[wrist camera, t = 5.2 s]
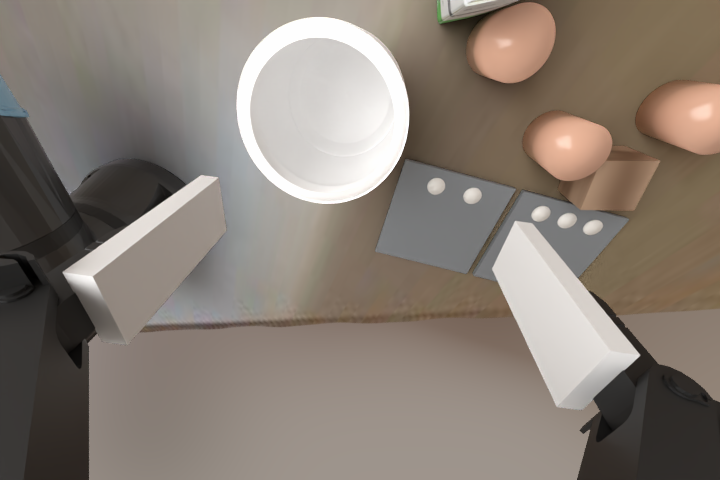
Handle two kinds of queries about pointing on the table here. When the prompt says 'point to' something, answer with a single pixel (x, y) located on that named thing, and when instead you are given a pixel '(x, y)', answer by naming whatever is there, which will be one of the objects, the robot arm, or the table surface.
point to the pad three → (556, 231)
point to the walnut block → (613, 182)
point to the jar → (323, 109)
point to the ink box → (467, 8)
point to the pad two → (441, 216)
